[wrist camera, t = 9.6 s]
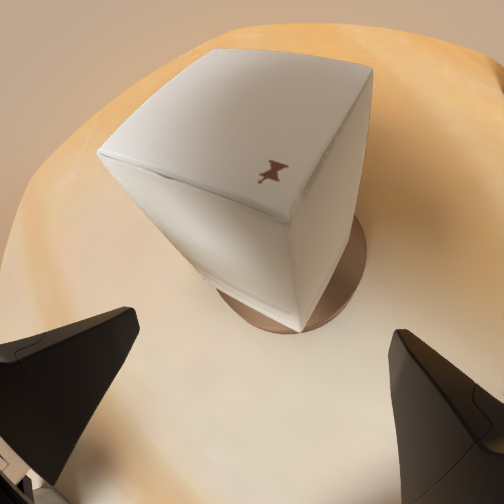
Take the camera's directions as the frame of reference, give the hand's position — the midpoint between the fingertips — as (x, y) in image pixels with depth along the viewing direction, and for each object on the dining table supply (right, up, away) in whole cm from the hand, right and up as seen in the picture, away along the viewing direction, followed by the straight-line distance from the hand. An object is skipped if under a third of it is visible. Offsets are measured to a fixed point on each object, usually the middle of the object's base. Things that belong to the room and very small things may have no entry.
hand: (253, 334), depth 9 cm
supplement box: (+2, +2, +10) cm, 10 cm away
